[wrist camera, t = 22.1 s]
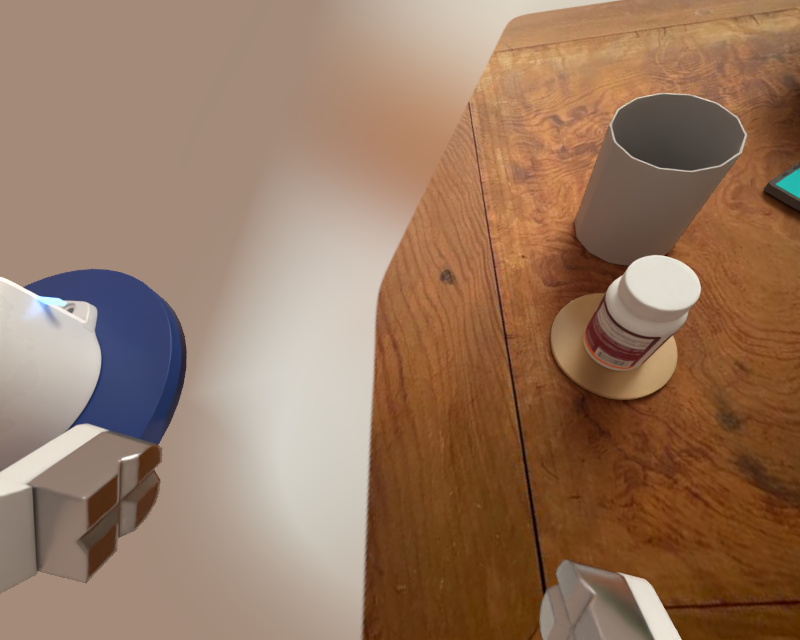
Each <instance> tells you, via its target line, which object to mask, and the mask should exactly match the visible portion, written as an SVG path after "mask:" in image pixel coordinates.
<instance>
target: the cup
mask: <svg viewBox="0 0 800 640" xmlns="http://www.w3.org/2000/svg"><path fill="white" fill-rule="evenodd" d="M746 137H747V134H746V132H745V130H744V128H743V126H742V124H741V122H740V120H739V118H738V117H737V116H736V115H734V114H733V113H731V112H730V111H728V110H727V109H726V108H724V107H723V106H721V105H720V104H718V103H716V102H713V101H710V100H707V99H703V98H700V97H697V96H694V95H691V94H673V93H659V94H654V95H649V96H644V97H639V98H635V99H634V100H632V101H630V102H629V103H627V104H625V105H624V106H622V107H620V108H619V109H617V111H616V113H615V115H614V117H613V119H612V121H611V123H610V124H609V127H608V130H607V133H606V136H605V138H604V141H603V144H602V147H601V149H600V152H599V155H598V158H597V160H596V163H595V166H594V169H593V171H592V174H591V177H590V180H589V183H588V185H587V188H586V191H585V194H584V196H583V199H582V202H581V205H580V207H579V210H578V213H577V216H576V219H575V221H574V224H575V230H576V236H577V239H578V240H579V241H580V242H581V243H582V245H583V246H584V247H585V248H586V249H587V251H588V252H589V253H591V254H593V255H595V256H597V257H599V258H601V259H602V260H604V261H606V262H608V263H614V264H620V265H626V266H630V265H631V264H632V263H633V262H634V261H636V260H637V259H640V258H642V257H646V256H653V255H659V256H664V255H666V254H667V253H668V252H670V251H671V249H672V248H673V247H674V245H675V244H676V242H677V241H678V240H679V238H680V237H681V236H682V234H683V233H684V231H685V230H686V229H687V227H688V226H689V225H690V223H691V222H692V220H693V219H694V218H695V216H696V215H697V214H698V212H699V211H700V209H701V208H702V207H703V205H704V204H705V203H706V201H707V200H708V198H709V197H710V196H711V194H712V193H713V192H714V190H715V189H716V187H717V186H718V185H719V183H720V182H721V181H722V179H723V178H724V176H725V175H726V174H727V172H728V171H729V170H730V168H731V167H732V165H733V164H734V163H735V161H736V160H737V159H738V157H739V156H740V154H741V153H742V150H743V147H744V144H745V140H746Z"/></svg>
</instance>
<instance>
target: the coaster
mask: <svg viewBox="0 0 800 640" xmlns="http://www.w3.org/2000/svg"><path fill="white" fill-rule="evenodd" d="M604 295H605V293H594V294H588V295H584V296H581V297H579V298H576V299H574V300H572V301H571V302H569V303H568V304H566V305H565V306H564V307H563V308H562V309H561V310H560V311H559V313H558V314H557V316H556V317H555V319H554V322H553V324H552V327H551V332H550V344H551V349H552V352H553V355H554V358H555V360H556V362H557V364H558V365H559V366H560V368H561V369H562V371H563V372H564V373H565V374H566V375H567V376H568V377H569V378H570V379H571V380H572V381H573V382H574V383H576V384H577V385H579V386H580V387H582V388H583V389H585V390H587V391H589V392H591V393H593V394H596V395H599V396H602V397H605V398H610V399H617V400H632V399H638V398H642V397H645V396H648V395H650V394H652V393H654V392H656V391H657V390H659V389H660V388H662V387H663V386H664V385H665V384H666V383H667V382H668V381H669V379H670V378H671V377H672V375H673V373H674V371H675V368H676V364H677V357H678V356H677V346H676V342H675V339H674V337H673V335H672V336H671V337H670V338H669V339H668V340H667V341H666V342H665V343H664V344H663V345H662V346H661V347H660V348H659V349H658V350H657V351H656V352H655V353H654V354H653V355H652V356H651V357H650V358H649V359H648V360H647V361H645V362H644V363H643V364H642V365H641V366H639V367H637V368H635V369H632V370H627V371H616V370H612V369H608V368H606V367H603V366H602V365H600V364H598V363H597V362H596V361H594V360H593V359H592V358H591V357H590V355H589V354H588V352H587V350H586V348H585V346H584V342H583V334H584V330H585V328H586V326H587V325H588V323H589V321H590V319H591V318H592V316H593V314H594V312H595V310H596V309H597V307H598V305H599V304H600V302H601V300H602V298H603V296H604Z"/></svg>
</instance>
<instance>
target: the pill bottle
mask: <svg viewBox="0 0 800 640" xmlns="http://www.w3.org/2000/svg"><path fill="white" fill-rule="evenodd" d="M700 292H701V286H700V282H699V280H698V277H697V276H696V274H695V273H694V272H693V271H692V269H690V268H689V267H688V266H687V265H685V264H684V263H682V262H680V261H679V260H676V259H673V258H670V257H666V256H659V255H653V256H646V257H642V258H640V259H637V260H636V261H634V262H633V263H632V264H631V265H630V266H629V267H628V268H627V270H626V271H625V273H624V274H623V275H622V276H621V277H619V278H617V279H616V280H615V281H614V282H613V283H612V284H611V285H610V286H609V288H608V289H607V291H606V293H605V295H604V296H603V298H602V300H601V302H600V304H599V305H598V307H597V309H596V310H595V312H594V314H593V316H592V318H591V319H590V321H589V323H588V325H587V326H586V328H585V330H584V334H583V342H584V346H585V348H586V350H587V352H588V354H589V355H590V357H591V358H592V359H593V360H594V361H596V362H597V363H598V364H600V365H602V366H603V367H606V368H608V369H612V370H616V371H627V370H632V369H635V368H637V367H639V366H641V365H642V364H643V363H644V362H645V361H647V360H648V359H649V358H650V357H651V356H652V355H653V354H654V353H655V352H656V351H657V350H658V349H659V348H660V347H661V346H662V345H663V344H664V343H665V342H666V341H667V340H668V339H669V338H670V337H671V336H672V335H674V334H675V333H676V332H677V331H678V330H679V329H680V328H681V327H682V325H683V324H684V322H685V321H686V319H687V316H688V311H689V310H690V308H691V307H692V306H693V305H694V304H695V303H696V301H697V300H698V298H699V296H700Z"/></svg>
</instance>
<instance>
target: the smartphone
mask: <svg viewBox="0 0 800 640" xmlns="http://www.w3.org/2000/svg"><path fill="white" fill-rule="evenodd" d="M764 191H766V192H767V193H769V194H771V195H772V196H774V197H776V198H777V199H779V200H781V201H783V202H784V203H786V204H788V205H789V206H791V207H793V208H795V209H796V210H798V211H800V162H799V163H797V164H796V165H794V166H793V167H791V168H789V169H788V170H786V171H785V172H783V173H782V174H780V175H779V176H777V177H776V178H774V179H772V180H771V181H770V182H769V183H768V184H767V185H766V186H765V188H764Z"/></svg>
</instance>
